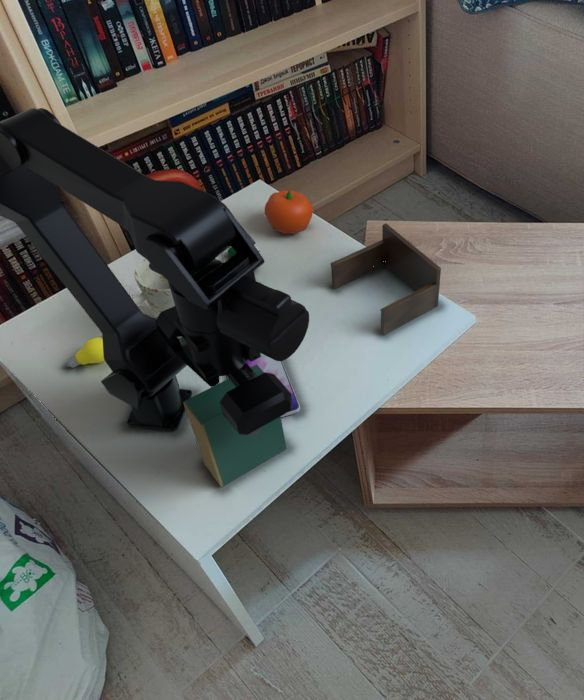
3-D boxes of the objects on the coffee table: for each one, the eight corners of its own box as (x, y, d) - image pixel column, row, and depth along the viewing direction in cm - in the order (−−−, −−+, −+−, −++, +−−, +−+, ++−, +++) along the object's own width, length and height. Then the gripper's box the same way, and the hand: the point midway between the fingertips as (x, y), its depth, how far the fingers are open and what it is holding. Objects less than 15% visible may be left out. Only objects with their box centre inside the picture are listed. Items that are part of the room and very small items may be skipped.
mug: (223, 318, 101) (211, 267, 94) (154, 367, 94) (134, 316, 86) (185, 294, 104) (171, 242, 97) (115, 339, 96) (93, 288, 89)
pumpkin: (314, 240, 115) (316, 201, 111) (266, 240, 113) (265, 200, 108) (309, 217, 121) (311, 179, 116) (263, 216, 118) (262, 178, 113)
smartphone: (272, 333, 99) (301, 409, 90) (272, 337, 99) (301, 413, 91) (221, 345, 96) (246, 424, 87) (222, 349, 97) (247, 428, 88)
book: (221, 488, 82) (200, 424, 73) (205, 465, 84) (182, 401, 74) (287, 449, 87) (275, 384, 77) (270, 428, 89) (256, 363, 79)
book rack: (383, 335, 102) (384, 297, 96) (332, 286, 108) (329, 247, 102) (437, 306, 107) (441, 268, 101) (385, 261, 114) (386, 222, 108)
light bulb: (113, 341, 95) (119, 359, 93) (73, 362, 94) (77, 380, 92) (99, 328, 92) (105, 346, 91) (57, 349, 91) (62, 367, 89)
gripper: (332, 332, 66) (338, 425, 78) (235, 235, 75) (254, 332, 86) (228, 385, 61) (252, 477, 72) (137, 274, 69) (171, 372, 81)
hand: (234, 408), depth 78 cm, fingers open, 9 cm apart
